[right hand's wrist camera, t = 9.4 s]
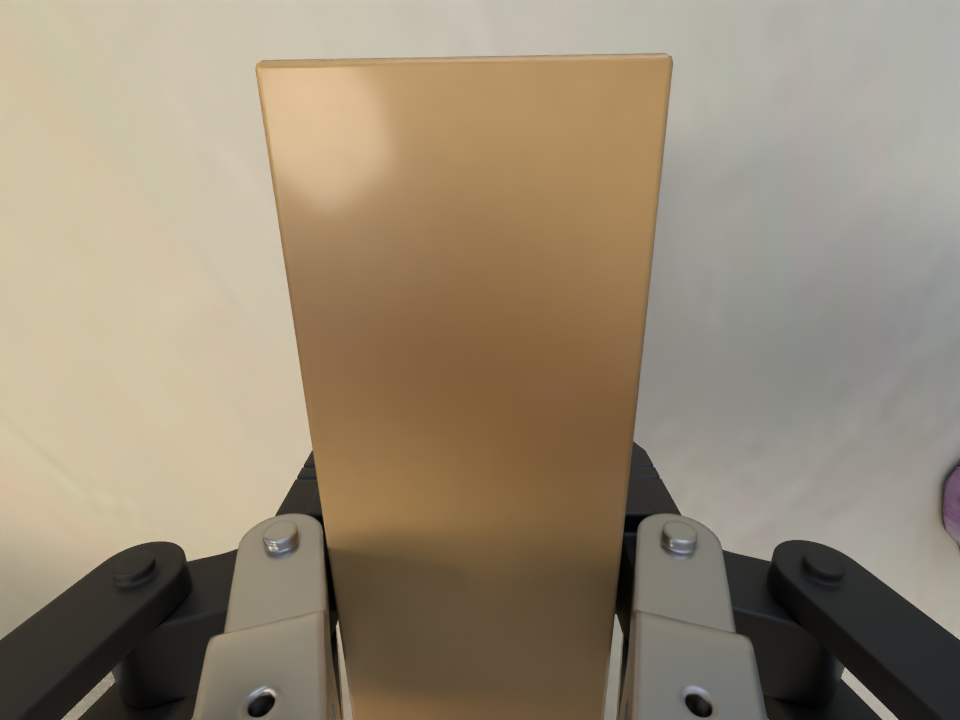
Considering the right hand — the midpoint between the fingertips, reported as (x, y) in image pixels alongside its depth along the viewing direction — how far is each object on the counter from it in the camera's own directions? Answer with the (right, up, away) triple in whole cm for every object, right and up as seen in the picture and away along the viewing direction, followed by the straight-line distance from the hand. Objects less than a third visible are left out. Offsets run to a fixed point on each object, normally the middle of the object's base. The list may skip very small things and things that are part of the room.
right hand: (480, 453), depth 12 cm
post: (0, -15, +10) cm, 18 cm away
